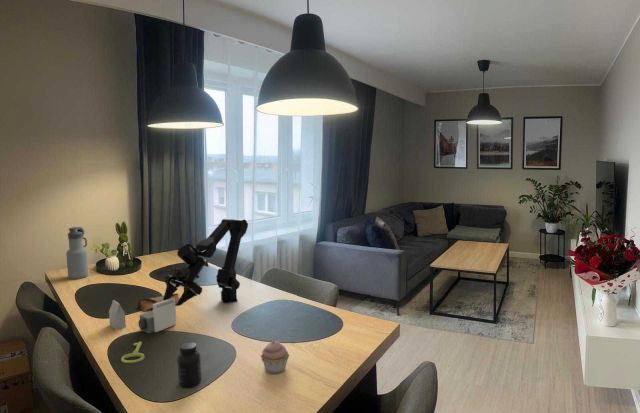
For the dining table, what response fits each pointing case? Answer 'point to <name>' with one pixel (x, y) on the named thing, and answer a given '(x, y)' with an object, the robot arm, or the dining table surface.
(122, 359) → the key
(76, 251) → the water bottle
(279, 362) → the cupcake
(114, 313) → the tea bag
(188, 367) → the supplement bottle
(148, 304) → the sunglasses case
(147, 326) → the grey rectangular block
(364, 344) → the dining table surface
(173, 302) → the side door
